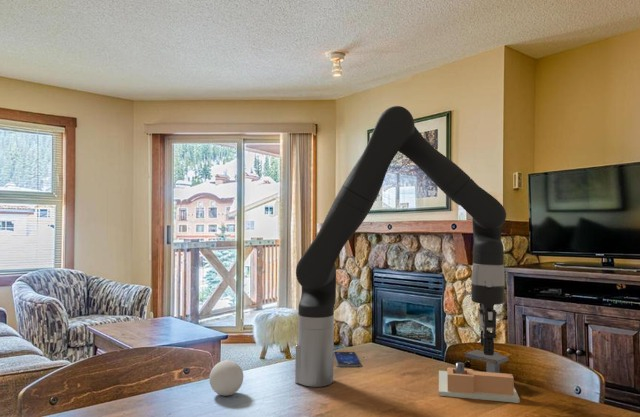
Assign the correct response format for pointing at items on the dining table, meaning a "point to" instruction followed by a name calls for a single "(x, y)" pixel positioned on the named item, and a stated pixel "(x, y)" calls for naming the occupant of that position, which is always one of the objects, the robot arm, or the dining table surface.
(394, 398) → the dining table surface
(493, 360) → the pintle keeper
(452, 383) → the link
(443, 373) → the board
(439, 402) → the dining table surface
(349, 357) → the smartphone
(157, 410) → the dining table surface
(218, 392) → the ball
